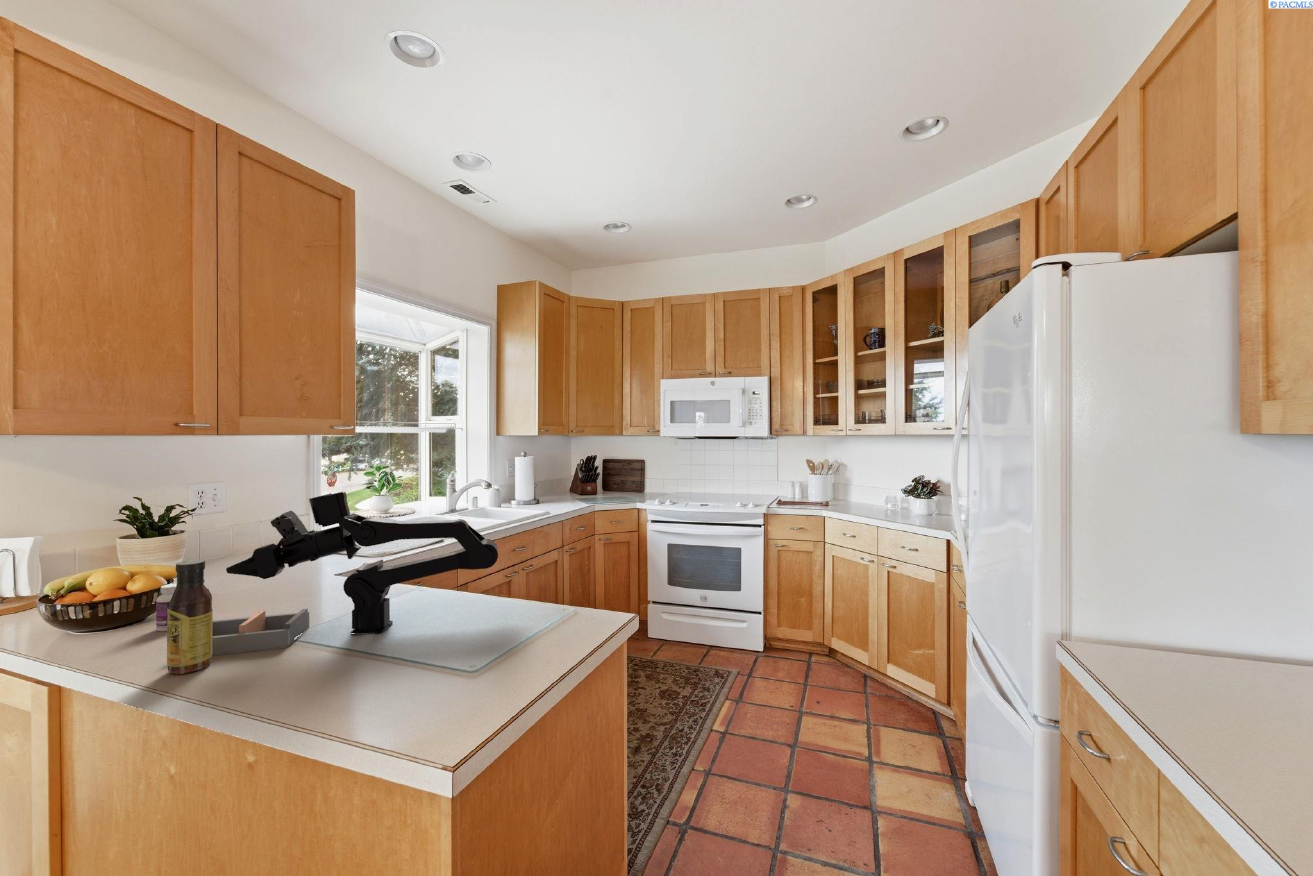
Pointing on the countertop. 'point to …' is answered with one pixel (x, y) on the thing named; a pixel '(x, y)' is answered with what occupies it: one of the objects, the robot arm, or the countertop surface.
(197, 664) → the sauce bottle
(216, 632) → the tray
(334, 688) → the countertop surface
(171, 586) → the pill bottle
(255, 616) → the plate
